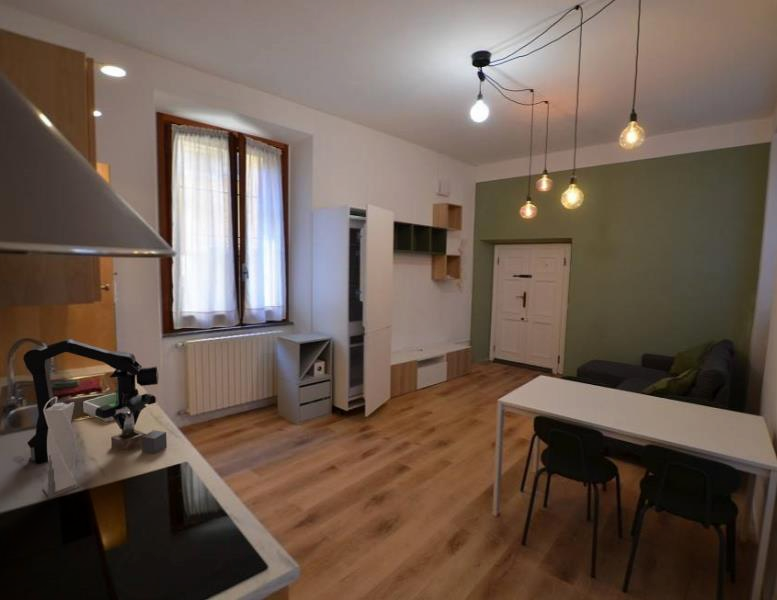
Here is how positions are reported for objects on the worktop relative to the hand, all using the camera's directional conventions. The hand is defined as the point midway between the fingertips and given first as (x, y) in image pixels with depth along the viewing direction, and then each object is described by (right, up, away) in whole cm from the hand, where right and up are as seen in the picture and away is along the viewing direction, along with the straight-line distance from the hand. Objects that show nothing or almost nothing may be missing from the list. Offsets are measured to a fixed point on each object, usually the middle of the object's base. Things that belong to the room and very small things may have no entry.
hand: (127, 427), depth 146 cm
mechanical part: (-27, -4, +32) cm, 42 cm away
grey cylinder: (0, -2, 0) cm, 2 cm away
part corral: (-28, -3, +31) cm, 42 cm away
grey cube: (+11, -8, -2) cm, 14 cm away
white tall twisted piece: (-3, -10, -26) cm, 28 cm away
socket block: (0, -7, +1) cm, 7 cm away
